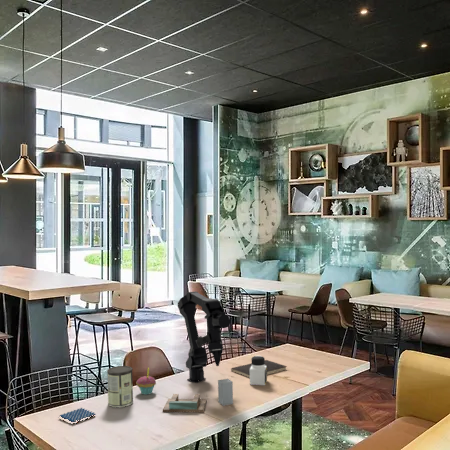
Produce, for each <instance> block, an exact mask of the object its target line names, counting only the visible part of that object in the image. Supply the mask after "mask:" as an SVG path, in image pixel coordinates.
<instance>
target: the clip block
mask: <svg viewBox="0 0 450 450" xmlns="http://www.w3.org/2000/svg"><path fill="white" fill-rule="evenodd" d="M217 391H218V395H217V396H218V397H217V398H218V399H217V400H218V403H219V404H220V405H222V406H223V407H224V406H229V405H234V397H233V395H234V392H233V391H234V389H233V381H232V380H231V379H230V378H224V379H218V380H217Z"/></svg>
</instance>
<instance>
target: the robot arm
mask: <svg viewBox="0 0 450 450" xmlns="http://www.w3.org/2000/svg"><path fill="white" fill-rule="evenodd" d="M197 305H198V306H199V307H200V308H201V310H202V311H203V312H204V313H205V314H206V315H205V316H204V319H206V326H207V327H206V329H207V332H206V334H205V335H204V336H199V332H198V327H197V322H196V318H195V313H196V310H197ZM177 308H178V311H179V313H180V315H181V316H182V317H183V318H184V322H185V327H186V332H187V337H188V342H189V351H188V354H187V355H188V358H187V359H186V361H185V367H186V368H187V369H188V371H189V373H188V374H189V376H188V378H187V379H186V381H189V382H192V383H195V384H197V383H201V382H202V381H206V379H207V378H206V377H205V371H204V368H205V367H206V368H207V363H208V354H207V349H208V352H209V353H210V354H211V355H212V356H213V359H214V362H215V363H214V364H215V366H216V367H220V362H221V359H222V355H223V350H224V345H223V340H222V333H221V332H222V331H221V329H226V328H229V326H230V324H231V319H230V317H229V316H228V314H226V311H225V309H224V308H223V306H222V304H221V302H220V301H219V300H218V299H217V298H208V297H206V296H204V295H202V294H201V293H199V291H188V292H186V294H185V295H183V297H181V298H180V299H179V300H178V302H177ZM206 344H208V345H207V346H208V348H207V349H206V348H205V347H204V346H203V345H206Z"/></svg>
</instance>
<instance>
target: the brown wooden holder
mask: <svg viewBox="0 0 450 450" xmlns="http://www.w3.org/2000/svg"><path fill="white" fill-rule="evenodd" d="M207 401H208V399H207V398H201V394H200V393H195V394H194V396H193V398H179V393H173V395H172V397H171V398H168V399H167V401H166V403H165V404H164V406H163V408H162V413H204V410H205V408H206V405H207Z"/></svg>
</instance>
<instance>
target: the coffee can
mask: <svg viewBox="0 0 450 450" xmlns="http://www.w3.org/2000/svg"><path fill="white" fill-rule="evenodd" d="M106 373H107V401H108V402H107V403H108V404H107V405H108V406H109V407H110V406H112V407H111V408H116V407H119V408H125V406H126V407H128V406H131V405H132V404H133V403H134V395H133V394H134V391H133V389H134V386H133V367H131V366H128V365H118V366H117V365H116V366H112V367H109V368H108V369H106Z"/></svg>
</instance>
